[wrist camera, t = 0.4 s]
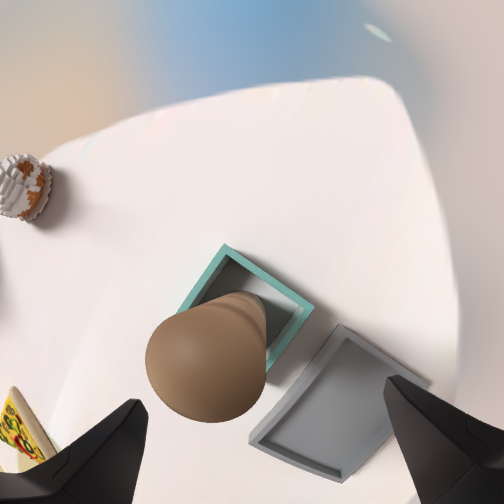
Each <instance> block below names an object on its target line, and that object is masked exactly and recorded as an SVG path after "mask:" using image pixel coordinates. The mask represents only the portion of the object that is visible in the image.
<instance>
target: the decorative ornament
mask: <svg viewBox="0 0 504 504" xmlns="http://www.w3.org/2000/svg"><path fill="white" fill-rule="evenodd" d="M50 171H51V169H50V168H49V167H48V166H47V165H46V164H45V163H44V162H42V163H41V164H40V163H39V162H38V161H37V160H36V159H35V158H33V157H32V156H31V155H29V154H28V153H25V154H24V155H23V156H20V155H19V154H17V155H16V156H15V157H14V156H12V155H10V156H6V157H5V158H4V160H3V162H0V215H3V216H7V217H11V218H12V217H13V218H16V219H17V217H19V219H20V220H21V221H24V220H25V221H27V222H28V221H29V220H32V218H34V219H35V218H36V216H37V214H38V213H41V212H42V210H43V208H44V206H45V204H46V202H47V201H48V199H49V198H48V197H47V195H48V193H49V192H50V190H51V187H50V185H51V183H52V182H51V181H50V180H51V178H52V176H51V175H50V174H49V172H50Z"/></svg>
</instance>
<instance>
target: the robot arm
mask: <svg viewBox="0 0 504 504" xmlns="http://www.w3.org/2000/svg"><path fill="white" fill-rule="evenodd" d="M383 397H384V400H385V404H386V407H387V411H388V414H389V418H390V421H391V425H392V428H393V431H394V434H395V436H396V438H397V441H398V443H399V446H400V448H401V451H402V453H403V456H404V458H405V461H406V463H407V466H408V469H409V471H410V474H411V477H412V479H413V482H414V485H415V488H416V490H417V493H418V496H419V498H420V502H421V504H504V430H501V429H499V428H496V427H493V426H491V425H489V424H486V423H484V422H482V421H479V420H478V419H476V418H474V417H472V416H470V415H469V414H466V413H465V412H463V411H461V410H459V409H458V408H456V407H454V406H452V405H451V404H449V403H447V402H445V401H444V400H442V399H440V398H438V397H437V396H435V395H433V394H431V393H430V392H428V391H426V390H424V389H423V388H421V387H419V386H418V385H416V384H414V383H413V382H411V381H409V380H407V379H406V378H404V377H402V376H401V375H399V374H394V375H391V376H388V377H387V379H386V382H385V387H384V391H383ZM148 418H149V417H148V412H147V411H146V409H145V407H144V405H143V403H142V401H141V400H139V399H129V400H127V401H126V402H125V403H124V404H122V405H121V406H120V407H119V408H117V409H116V410H115V411H113V412H112V413H111V414H110V415H108V416H107V417H106V418H104V419H103V420H102V421H101V422H99V423H98V424H97V425H95V426H94V427H93V428H91V429H90V430H89V431H87V432H86V433H85V434H83V435H82V436H81V437H79V438H78V439H77V440H75V441H74V442H73V443H71V444H70V446H67V447H66V448H64V449H63V450H62V451H60V452H59V453H57V454H56V455H54V456H53V457H51V458H49V459H48V460H46V461H44V462H42V463H41V464H39V465H37V466H35V467H33V468H31V469H30V470H28V471H25V472H23V473H4V472H0V504H132V500H133V496H134V491H135V487H136V482H137V478H138V474H139V470H140V465H141V461H142V457H143V453H144V448H145V441H146V433H147V426H148Z"/></svg>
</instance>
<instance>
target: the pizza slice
mask: <svg viewBox="0 0 504 504" xmlns="http://www.w3.org/2000/svg"><path fill="white" fill-rule="evenodd" d="M0 439H1V440H2V441H3V442H6V443H7V444H8V445H10V446H12V447H13V448H16V449H17V450H19V451H20V452H21V453H25V454H27V455H28V456H29V457H31V458H30V459H33V460H35V461H36V462H38V463H39V464H41V463H42V462H44V461H46V460H48V459H49V458H51V457H53V456H54V455H56V454H57V451H56V449H55V448H54V446H53V444H52V442H51V441H50V439H49V437H48V435H47V434H46V432H44V431H43V429H42V428H41V426H40V424H39V423H38V421H37V419H36V418H35V416H34V415H33V413H32V411H31V410H30V408H29V407H28V405H27V403H26V402H25V400H24V398H23V397H22V395H21V394H20V392H19V391H18V389H17V388H16V387H15V386H13V387H11V388H10V390H9V396H8V398H7V399H6V401H5V406H4V409H3V411H2V413H1V419H0Z"/></svg>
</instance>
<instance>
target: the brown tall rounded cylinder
mask: <svg viewBox="0 0 504 504" xmlns="http://www.w3.org/2000/svg"><path fill="white" fill-rule="evenodd" d="M145 364H146V371H147V375H148V378H149V381H150V383H151V385H152V388H153V389H154V391H155V392H156V394H157V395H158V397H159V398H160V399H161V400H162V401H163V402H164V403H165V404H166V405H167V406H168V407H169V408H171V409H172V410H173V411H175V412H176V413H178V414H180V415H182V416H184V417H186V418H189V419H192V420H195V421H199V422H206V423H218V422H225V421H229V420H232V419H234V418H237V417H239V416H241V415H243V414H244V413H245V412H247V411H248V410H249V409H250V408H251V407H252V406H253V405H254V404H255V403H256V402H257V400H258V399H259V397H260V395H261V393H262V391H263V388H264V386H265V380H266V310H265V307H264V305H263V303H262V301H261V300H260V299H259V298H258V297H257V296H256V295H254V294H253V293H250V292H247V291H234V292H231V293H229V294H226V295H224V296H221V297H219V298H216V299H214V300H211V301H209V302H206V303H203V304H201V305H198V306H196V307H193V308H191V309H188V310H185V311H183V312H180V313H177V314H175V315H173V316H171V317H169V318H168V319H166V320H165V321H163V322H162V323H161V324H160V325H159V326H158V327H157V328H156V330H155V331H154V332H153V334H152V336H151V338H150V340H149V342H148V345H147V349H146V356H145Z"/></svg>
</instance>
